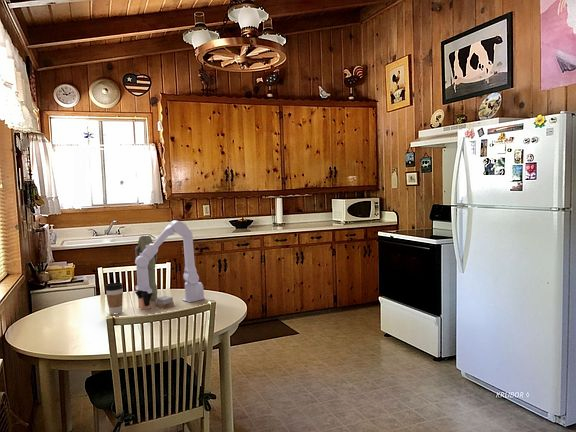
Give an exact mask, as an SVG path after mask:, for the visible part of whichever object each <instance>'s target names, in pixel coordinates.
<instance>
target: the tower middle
mask: <svg viewBox="0 0 576 432" xmlns="http://www.w3.org/2000/svg"><path fill="white" fill-rule="evenodd" d="M171 302H174V298H173V296H169V295H163V296H160V297H157V298H156V299H155V303H157V304H162V305H165V304H168V303H171Z"/></svg>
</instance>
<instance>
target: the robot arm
mask: <svg viewBox="0 0 576 432" xmlns="http://www.w3.org/2000/svg"><path fill="white" fill-rule="evenodd" d="M175 234H178V235H179V236H180V237H182V241H183V251H184V252H183V255H184V272H183V274H182V275H183V276H182V278H183V280H184V281H185V282H184V293H185V294H184V295H185V296H184V297H185V298H182V301H184V302H188V303H193V302H197V301H201V300H202V301H203V300H205V293H204V285H203V283H202V282H201V281H199V280H200V276H199V274H198V270H197V268H196V266H195V265H196V264H195V263H196V262H195V250H194V240H193V239H194V238H193V232H192V231H191V230H190V229H189V227H188V225H187V224H186V223H184V222H183V221H181V220H175V219H174V220H172V221H170V223H169V224H168V225H165V228H164V229H163V230H162V231H161V233H160V234H159V235H158V236H157V238H156V239H155V240H154V241H153V244H149V245H146V249H145V250H144V251H143V252H142V253H140V255H141V256H138V257H137V258H136V257H135V260H134V263H135V265H136V285H135V286H134V287H135V291H134V293H135V294H136V297H137V299H138V298H142V297H143V300H144V305H145V306H149V304H150V299H151V296H152V294H153V292H152V289H151V288H150V287H149V275H148V264H149V261H150V260H151V259H152V258H153V256H154V255H155V254H156V253H158V251H159V247H160V246H161V245H162V244H163V243H164V242H165V240H166V239H168V237H170V236H173V235H175Z"/></svg>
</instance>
